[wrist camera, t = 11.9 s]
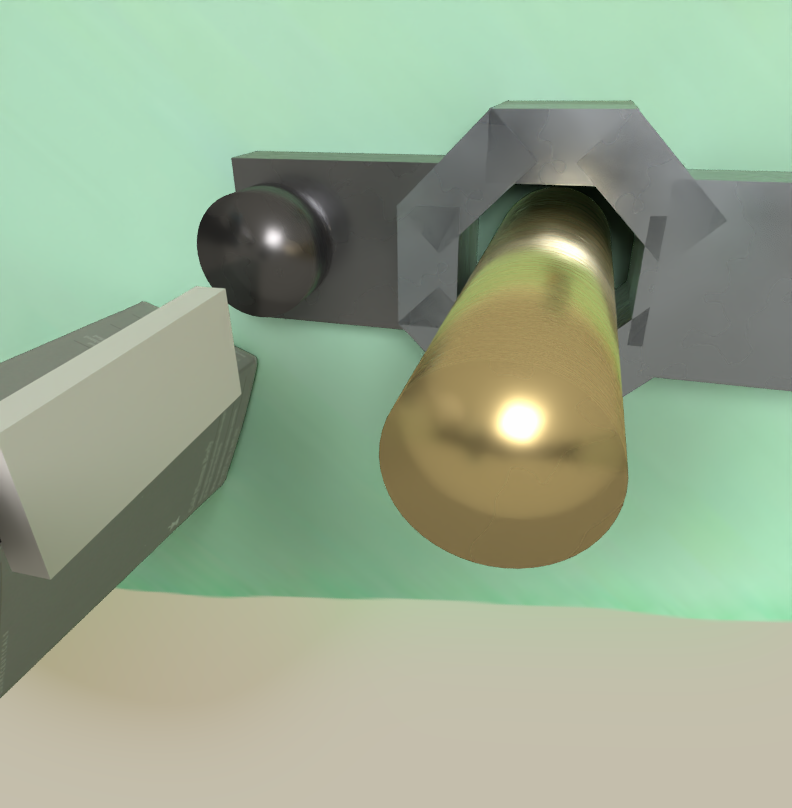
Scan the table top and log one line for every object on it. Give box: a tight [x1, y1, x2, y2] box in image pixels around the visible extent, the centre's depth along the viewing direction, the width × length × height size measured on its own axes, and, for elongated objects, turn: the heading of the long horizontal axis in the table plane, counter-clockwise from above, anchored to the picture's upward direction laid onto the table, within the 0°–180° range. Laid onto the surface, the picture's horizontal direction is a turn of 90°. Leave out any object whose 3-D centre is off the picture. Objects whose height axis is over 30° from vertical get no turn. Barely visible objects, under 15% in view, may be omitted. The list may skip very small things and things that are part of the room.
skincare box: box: [0, 301, 257, 698], centre depth 24 cm, size 8×7×16 cm
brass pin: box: [379, 187, 628, 569], centre depth 16 cm, size 4×4×15 cm
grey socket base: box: [197, 100, 792, 397], centre depth 21 cm, size 24×10×4 cm, turn 91°
